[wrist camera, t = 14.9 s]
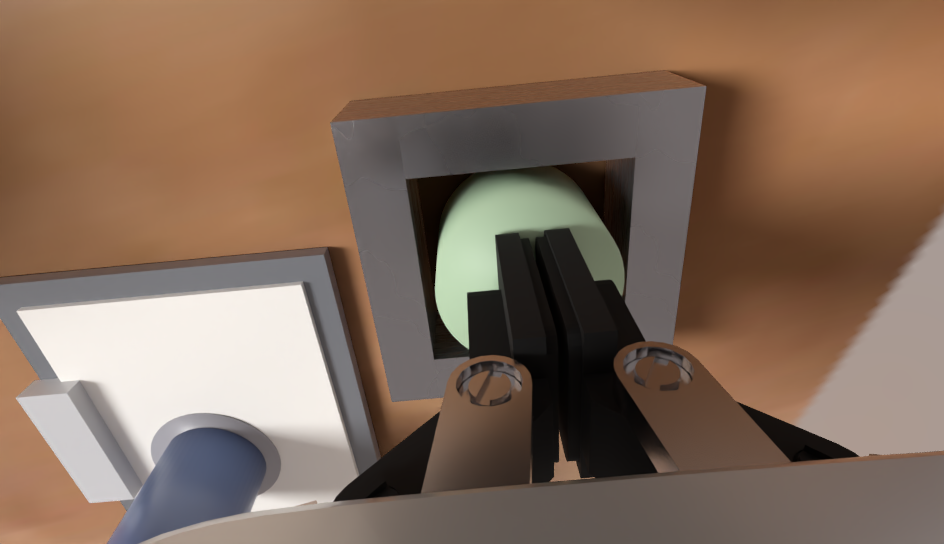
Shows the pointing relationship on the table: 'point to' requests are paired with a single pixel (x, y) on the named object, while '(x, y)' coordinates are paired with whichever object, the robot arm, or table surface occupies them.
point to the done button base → (512, 147)
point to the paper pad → (195, 369)
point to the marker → (194, 485)
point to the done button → (512, 211)
